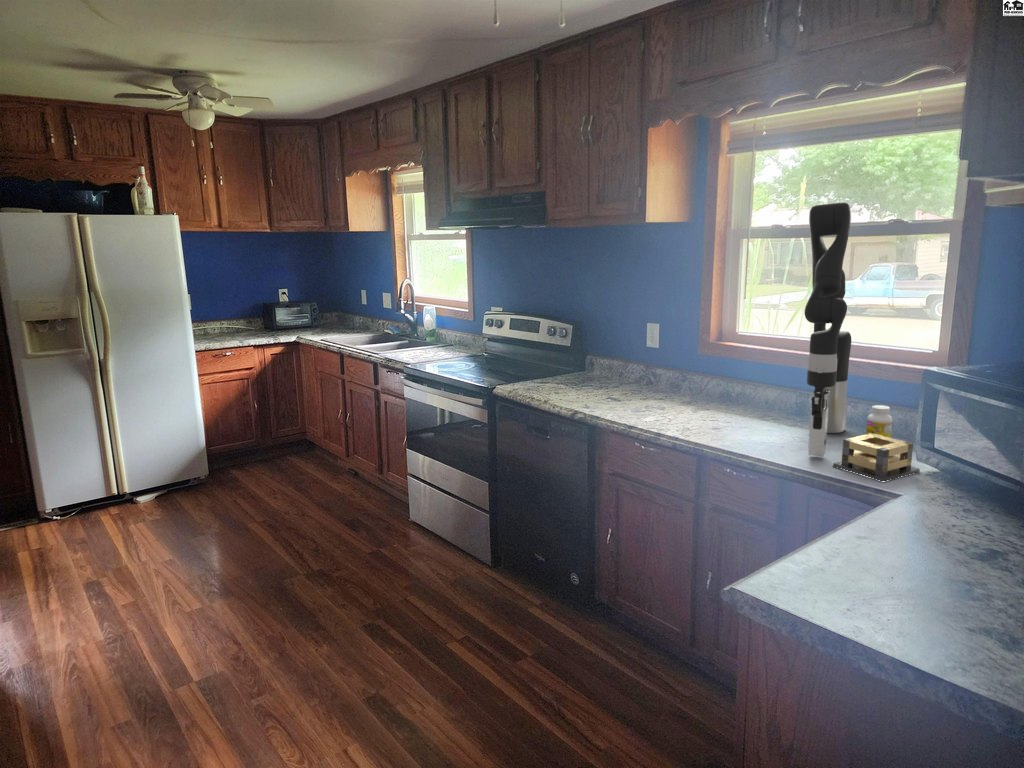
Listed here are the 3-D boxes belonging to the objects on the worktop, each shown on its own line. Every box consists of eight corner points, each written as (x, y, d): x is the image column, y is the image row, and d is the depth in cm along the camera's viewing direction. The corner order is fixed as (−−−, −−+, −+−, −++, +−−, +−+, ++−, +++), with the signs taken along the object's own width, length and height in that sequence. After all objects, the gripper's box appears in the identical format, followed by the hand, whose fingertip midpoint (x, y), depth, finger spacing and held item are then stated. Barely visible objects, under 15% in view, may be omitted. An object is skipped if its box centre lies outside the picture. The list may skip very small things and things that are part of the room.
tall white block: (810, 451, 195) (813, 405, 192) (826, 453, 193) (829, 406, 190) (808, 455, 192) (810, 408, 189) (823, 457, 189) (826, 409, 186)
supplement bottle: (859, 446, 201) (862, 405, 199) (876, 443, 204) (879, 403, 201) (878, 452, 195) (882, 410, 193) (895, 449, 198) (898, 407, 195)
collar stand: (868, 457, 191) (870, 431, 189) (919, 472, 178) (922, 443, 176) (832, 466, 184) (834, 439, 183) (883, 482, 171) (885, 453, 170)
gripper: (812, 363, 195) (808, 419, 198) (803, 372, 183) (799, 431, 187) (840, 365, 191) (836, 422, 194) (832, 374, 179) (828, 435, 183)
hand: (818, 426), depth 190 cm, fingers closed on tall white block, 4 cm apart
